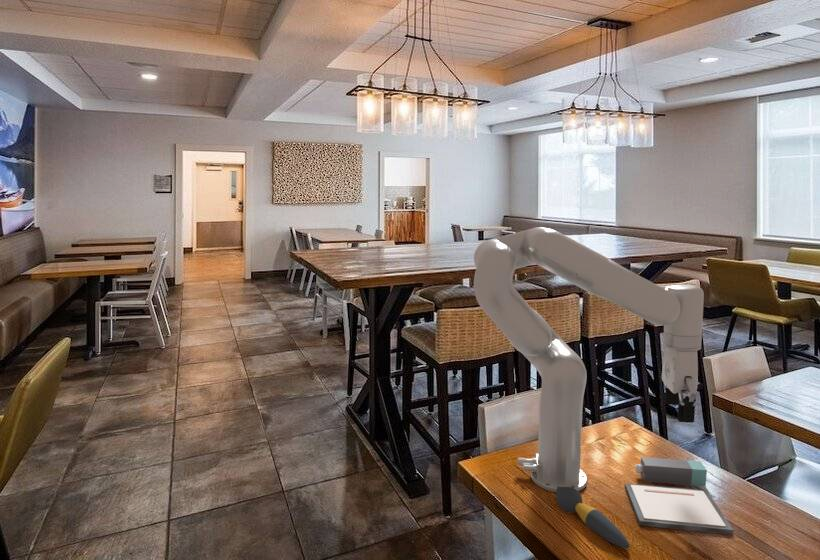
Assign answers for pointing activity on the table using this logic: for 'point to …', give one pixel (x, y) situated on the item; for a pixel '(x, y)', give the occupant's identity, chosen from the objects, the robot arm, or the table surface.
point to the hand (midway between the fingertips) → (678, 412)
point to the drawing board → (677, 508)
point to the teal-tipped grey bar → (672, 471)
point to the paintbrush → (590, 516)
